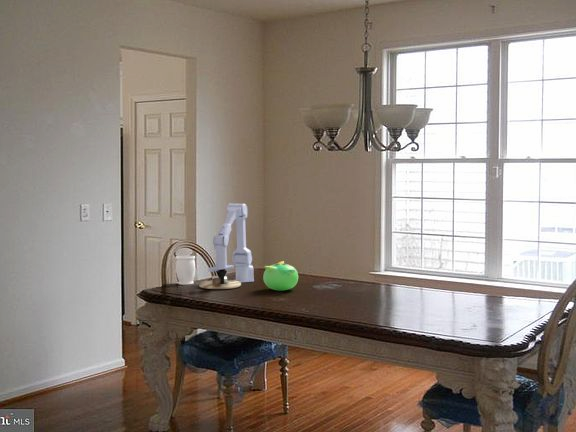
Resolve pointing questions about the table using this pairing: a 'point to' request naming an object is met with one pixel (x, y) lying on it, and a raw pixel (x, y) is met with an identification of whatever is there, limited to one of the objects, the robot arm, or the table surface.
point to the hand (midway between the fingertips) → (221, 284)
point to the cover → (224, 279)
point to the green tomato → (280, 276)
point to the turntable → (219, 284)
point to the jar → (185, 269)
